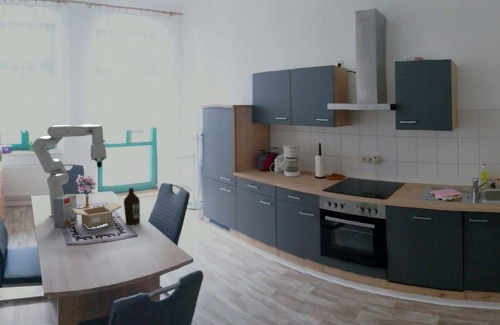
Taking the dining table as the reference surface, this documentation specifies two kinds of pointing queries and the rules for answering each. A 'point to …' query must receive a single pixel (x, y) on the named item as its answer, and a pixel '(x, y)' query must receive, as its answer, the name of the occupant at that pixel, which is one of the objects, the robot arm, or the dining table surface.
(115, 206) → the flap
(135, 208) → the olive oil
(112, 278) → the dining table surface
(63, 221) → the hard drive box
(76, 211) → the flap
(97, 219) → the carton
